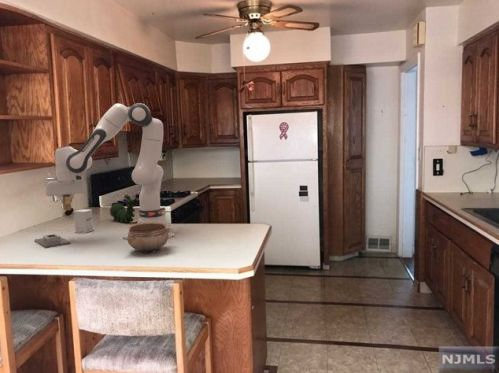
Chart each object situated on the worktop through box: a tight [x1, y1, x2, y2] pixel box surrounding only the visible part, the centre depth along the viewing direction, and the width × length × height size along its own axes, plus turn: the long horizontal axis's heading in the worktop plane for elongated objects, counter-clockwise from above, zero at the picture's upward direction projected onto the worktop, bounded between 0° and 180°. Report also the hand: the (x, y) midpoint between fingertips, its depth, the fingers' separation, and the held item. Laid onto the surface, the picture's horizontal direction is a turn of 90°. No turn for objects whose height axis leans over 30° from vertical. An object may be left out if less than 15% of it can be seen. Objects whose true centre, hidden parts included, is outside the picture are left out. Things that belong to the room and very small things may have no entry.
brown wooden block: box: [61, 194, 72, 211], centre depth 227 cm, size 5×2×8 cm, turn 41°
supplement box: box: [73, 208, 94, 234], centre depth 249 cm, size 7×7×13 cm
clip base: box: [34, 233, 71, 249], centre depth 225 cm, size 20×12×4 cm, turn 41°
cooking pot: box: [122, 222, 172, 254], centre depth 202 cm, size 25×19×12 cm
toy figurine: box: [109, 194, 136, 224], centre depth 276 cm, size 10×19×26 cm
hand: (66, 203), depth 227 cm, fingers closed on brown wooden block, 2 cm apart
